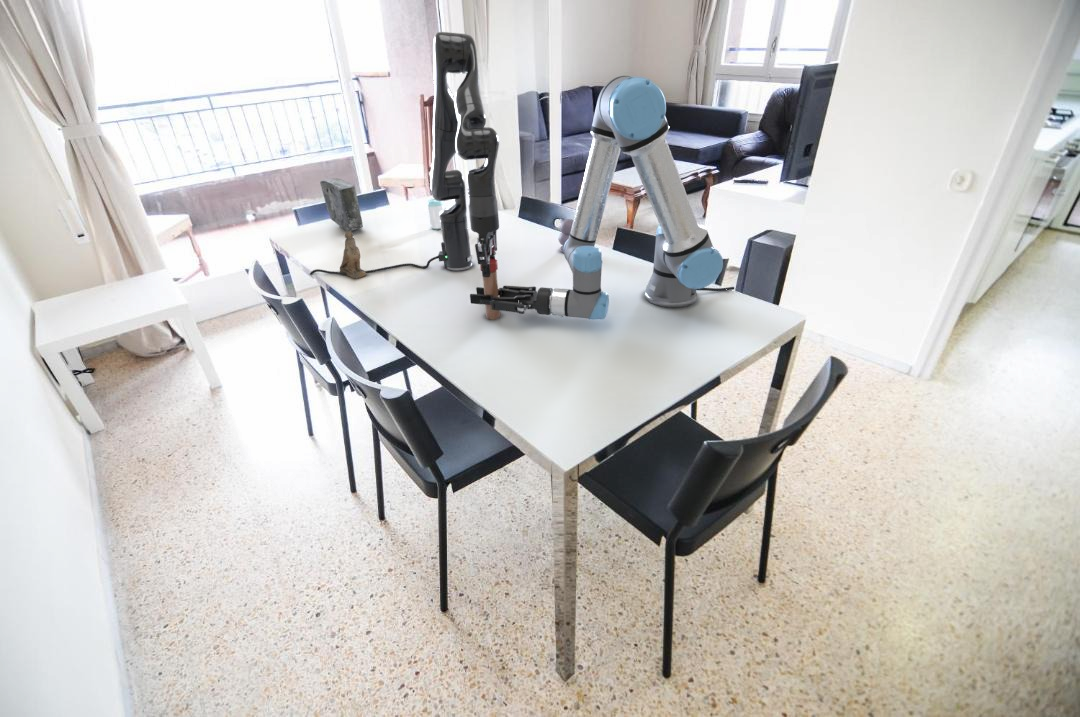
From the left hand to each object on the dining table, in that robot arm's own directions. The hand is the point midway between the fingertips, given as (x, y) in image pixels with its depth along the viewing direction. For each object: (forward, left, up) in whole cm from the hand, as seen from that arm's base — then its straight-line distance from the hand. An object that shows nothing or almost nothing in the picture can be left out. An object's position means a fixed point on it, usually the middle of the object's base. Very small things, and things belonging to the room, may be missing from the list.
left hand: (489, 272), depth 138 cm
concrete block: (-96, +72, -14) cm, 121 cm away
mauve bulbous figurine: (+10, +59, -14) cm, 61 cm away
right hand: (-5, 0, -7) cm, 9 cm away
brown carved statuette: (-62, +22, -14) cm, 67 cm away
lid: (0, 0, +3) cm, 3 cm away
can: (-54, +79, -14) cm, 97 cm away
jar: (0, 0, -14) cm, 14 cm away
